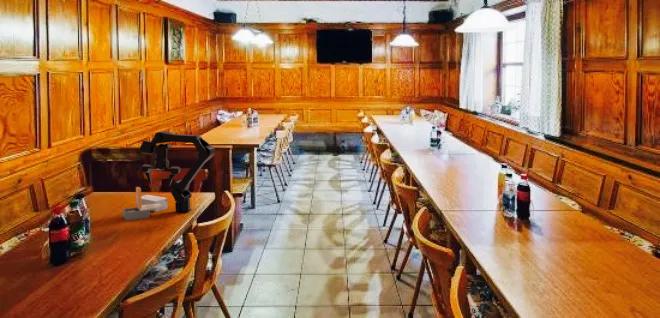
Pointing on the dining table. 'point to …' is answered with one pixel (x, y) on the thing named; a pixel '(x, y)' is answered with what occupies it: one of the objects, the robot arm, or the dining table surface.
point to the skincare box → (153, 201)
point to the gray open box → (135, 214)
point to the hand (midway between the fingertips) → (160, 185)
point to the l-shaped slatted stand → (145, 207)
